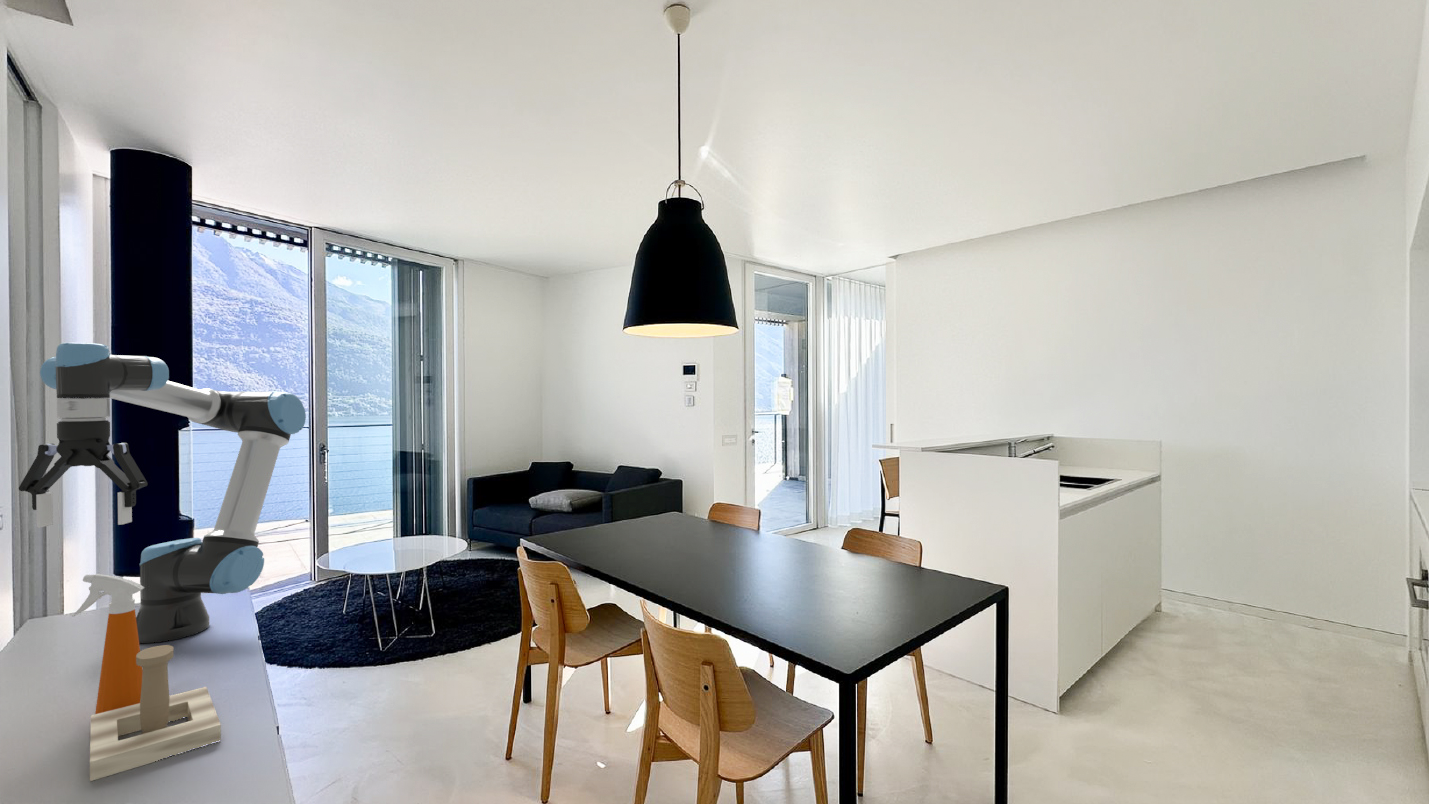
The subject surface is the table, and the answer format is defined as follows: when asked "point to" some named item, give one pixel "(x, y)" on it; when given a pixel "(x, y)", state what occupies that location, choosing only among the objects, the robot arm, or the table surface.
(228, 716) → the table surface
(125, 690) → the spray bottle
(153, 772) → the table surface
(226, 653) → the table surface
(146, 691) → the handle
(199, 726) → the board
